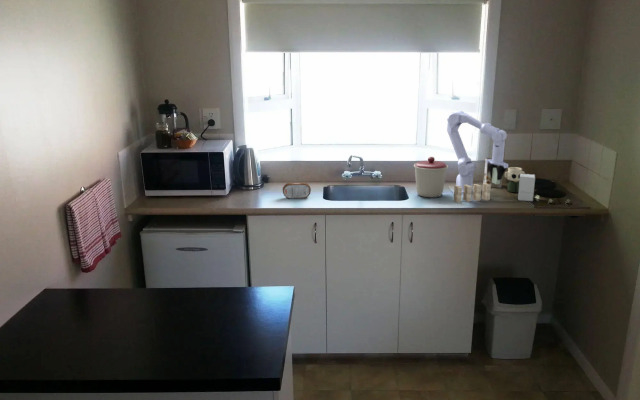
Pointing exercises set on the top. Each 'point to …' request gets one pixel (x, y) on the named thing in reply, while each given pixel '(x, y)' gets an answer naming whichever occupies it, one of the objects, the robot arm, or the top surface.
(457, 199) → the domino
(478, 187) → the domino
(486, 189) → the domino
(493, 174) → the end domino
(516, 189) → the character mug
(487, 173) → the coffee box
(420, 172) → the canister
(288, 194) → the tin
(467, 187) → the domino
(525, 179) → the supplement box
